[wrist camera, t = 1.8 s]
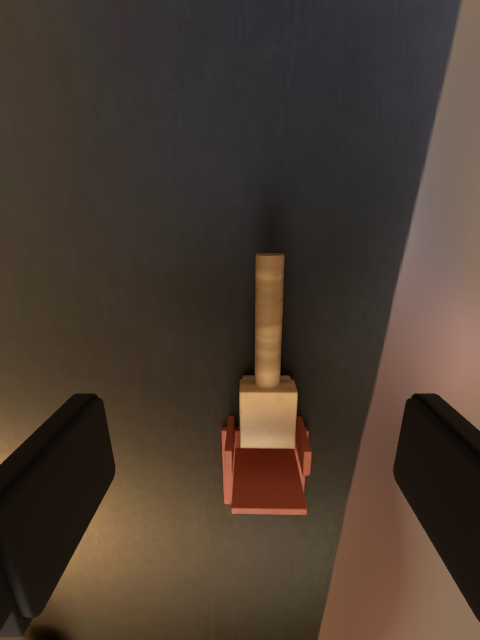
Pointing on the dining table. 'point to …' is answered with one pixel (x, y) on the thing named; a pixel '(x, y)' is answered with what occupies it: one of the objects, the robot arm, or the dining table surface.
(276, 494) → the brush stand
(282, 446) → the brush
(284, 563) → the dining table surface
